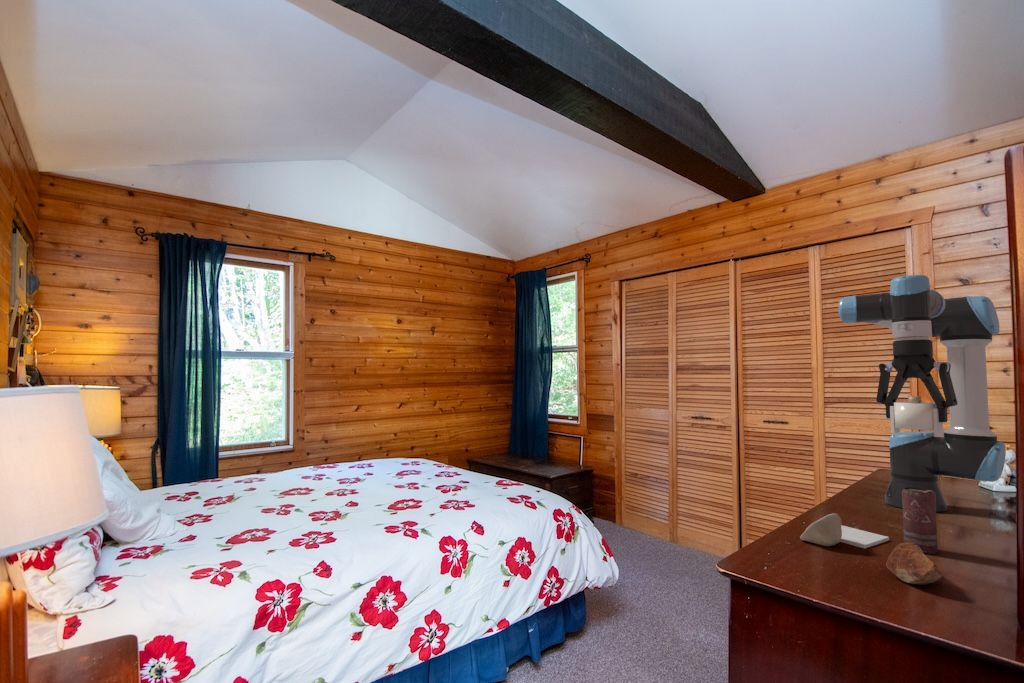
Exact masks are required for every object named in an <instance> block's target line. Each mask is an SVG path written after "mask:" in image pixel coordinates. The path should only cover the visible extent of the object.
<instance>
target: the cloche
mask: <svg viewBox="0 0 1024 683" xmlns="http://www.w3.org/2000/svg"><path fill="white" fill-rule="evenodd" d="M907 399H908V400H907V401H896V402H894V417H895V427H896V428H900V429H903V430H912V431H913V430H915V431H934V421H933V408H936V407H937V406H936V404H935V402H934V403H933V402H922V396H920V395H919V396H918V395H908V396H907Z"/></svg>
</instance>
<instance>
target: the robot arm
mask: <svg viewBox="0 0 1024 683" xmlns="http://www.w3.org/2000/svg"><path fill="white" fill-rule="evenodd" d="M931 287H932V286H931V284H930V278H929V276H927V275H924V274H911V275H909V274H908V275H902V276H897V277H894V278H892V279H891V281H890V287H889V292H880V293H873V294H870V293H868V294H860V295H859V294H858V295H854V294H853V295H850V296H845V297H842V298H841V299H840V300H839V302H838V310H837V311H838V315H839V316H838V317H839V318H840V320H841V321H842V322H843V323H845V324H850V323H851V324H857V323H866V324H871V325H875V326H879V327H883V328H888V329H889V330H890V331H891V333H892V339H893V340H894V341H893V342H892V355H893V359H892V361H891V362H888V363H879V364H878V369H879V372H880V373H879V380H878V387H877V394H876V400H875V401H876V402H877V403H878V404H879V403H880V404H882V405H884V407H885V417H886V419H889V420H890V433H891V435H890V437H889V446H888V449H889V464H890V465H889V467H890V469H889V470H890V480H889V482H888V485H887V489H886V491H885V494H884V502H885V504H887V505H890V506H892V507H896V508H899V509H903V506H902V491H903V489H904V488H907V487H911V488H921V489H927V490H932V491H934V492H935V495H936V513H942V512H943V513H944V512H946V511H948V508H947V507H948V505H947V501H946V498H945V496H944V494H943V492H942V489H941V486H940V484H939V478H938V476H942V477H950V478H958V479H965V480H970V481H971V480H972V481H975V482H979V481H981V482H989V483H991V482H992V483H993V482H997V481H998V480H1000V479H1001V477H1002V474H1003V471H1004V467H1005V464H1006V454H1007V452H1006V444H1005V442H1003V441H999V440H998V435H997V434H996V433H995V432H994V431H992V430H991V429H990V417H989V414H990V413H989V396H988V393H989V392H988V374H987V371H988V370H987V354H986V353H987V350H986V348H987V346H988V345H990V344H991V343H992V342H993V336H996V335H998V334H1000V330H1001V329H1000V321H999V318H998V313H997V310H996V308H995V305H994V303H993V301H992V300H991V298H989V297H987V296H984V295H983V296H982V295H981V296H980V295H978V296H963V297H951V298H944V296H943V295H941V293H939V291H936V290H934V289H931ZM931 338H939V340H940V341H939V342H940V343H939V344H942V345H943V346H944V347H946V356H947V357H946V358H947V359H946V360H947V361H946V362H936V360H935V359H934V346H933V340H932V339H931ZM934 368H935V369H936V371H937V373H938V377H939V380H940V383H941V388H942V391H943V394H942V392H941V391H940V389H939V387H938V386H937V384H936V382H935V380H934V377H933V375H932V374H931V371H932V370H933V369H934ZM893 369H894V370H895V371H896V375H895V377H894V381H893V384H892V386H891V389H890V390H889V387H890V386H889V385H890V380H891V373H892V371H893ZM913 378H914V379H920V381H921V382H922V383H923V385H924V386H925V388H926V390H927V391H928V394H929V395H930V396H931V399H932V401H933V402H934V403H935V404H936V406H937V407H936V408H933V421H934V430H933V431H929V430H920V431H903V432H902V431H901V432H900V429H901V428H896V427H895V417H894V402H897V400H898V398H899V395H900V393H901V392H902V390H903V387H904V385H905V383H906V382H907V381H908V379H913ZM943 395H944V396H943ZM948 408H949V417H948ZM948 418H949V420H948ZM948 421H949V427H948V428H946V429H945V430H944V425H943V424H944V423H948Z"/></svg>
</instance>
